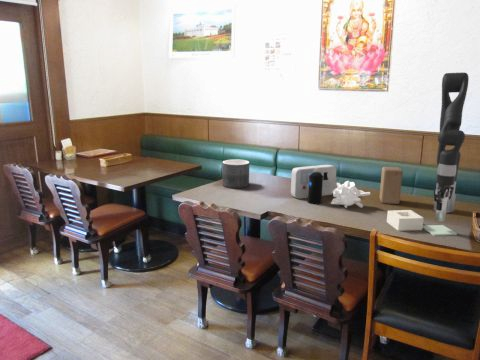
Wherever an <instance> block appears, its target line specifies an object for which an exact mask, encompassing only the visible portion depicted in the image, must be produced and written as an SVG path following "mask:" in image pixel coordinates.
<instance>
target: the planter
mask: <svg viewBox="0 0 480 360" xmlns="http://www.w3.org/2000/svg"><path fill="white" fill-rule="evenodd" d="M221 165H222V186H223V187H224V188H229V189H243V188H248V187H249V186H250V161H249V160H246V159H237V158H235V159H226V160H223V161H222V164H221Z"/></svg>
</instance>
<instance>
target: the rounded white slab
mask: <svg viewBox="0 0 480 360" xmlns="http://www.w3.org/2000/svg"><path fill="white" fill-rule="evenodd" d="M315 168H318V172H319V173H321V174H322V175H323V184H322V197H323V196H332V195H333V193H332V190H333V189H336V185H337V184H336V183H337V167H336V166H334V165H331V164H320V165H309V166H307V165H306V166H299V167H298V166H297V167H294V168H292V170H291V175H290V176H291V177H290V178H291V180H290V182H291V183H290V195H291V196H292V197H294V198H295V199H306V198H307V199H308V190H309V175H310V174H311V173H313V172H315Z"/></svg>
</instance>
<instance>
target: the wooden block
mask: <svg viewBox="0 0 480 360" xmlns="http://www.w3.org/2000/svg"><path fill="white" fill-rule="evenodd" d="M403 174H404V171H403V170H402V168H401V167H398V166H383V167H382V168H381V176H380V188H379V197H378V198H379V200H380V203H381V204H390V205H399V204H400V200H401V191H402V183H403V182H402V181H403Z"/></svg>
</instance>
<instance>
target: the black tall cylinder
mask: <svg viewBox="0 0 480 360" xmlns="http://www.w3.org/2000/svg"><path fill="white" fill-rule="evenodd" d="M322 184H323V175H322V174H321V173H319V172H318V168H315V172H313V173H311V174H310V175H309V190H308V198H307V203H308V204H310V205H320V204H322V203H323V201H322V200H323V199H322V197H323V196H322Z"/></svg>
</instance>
